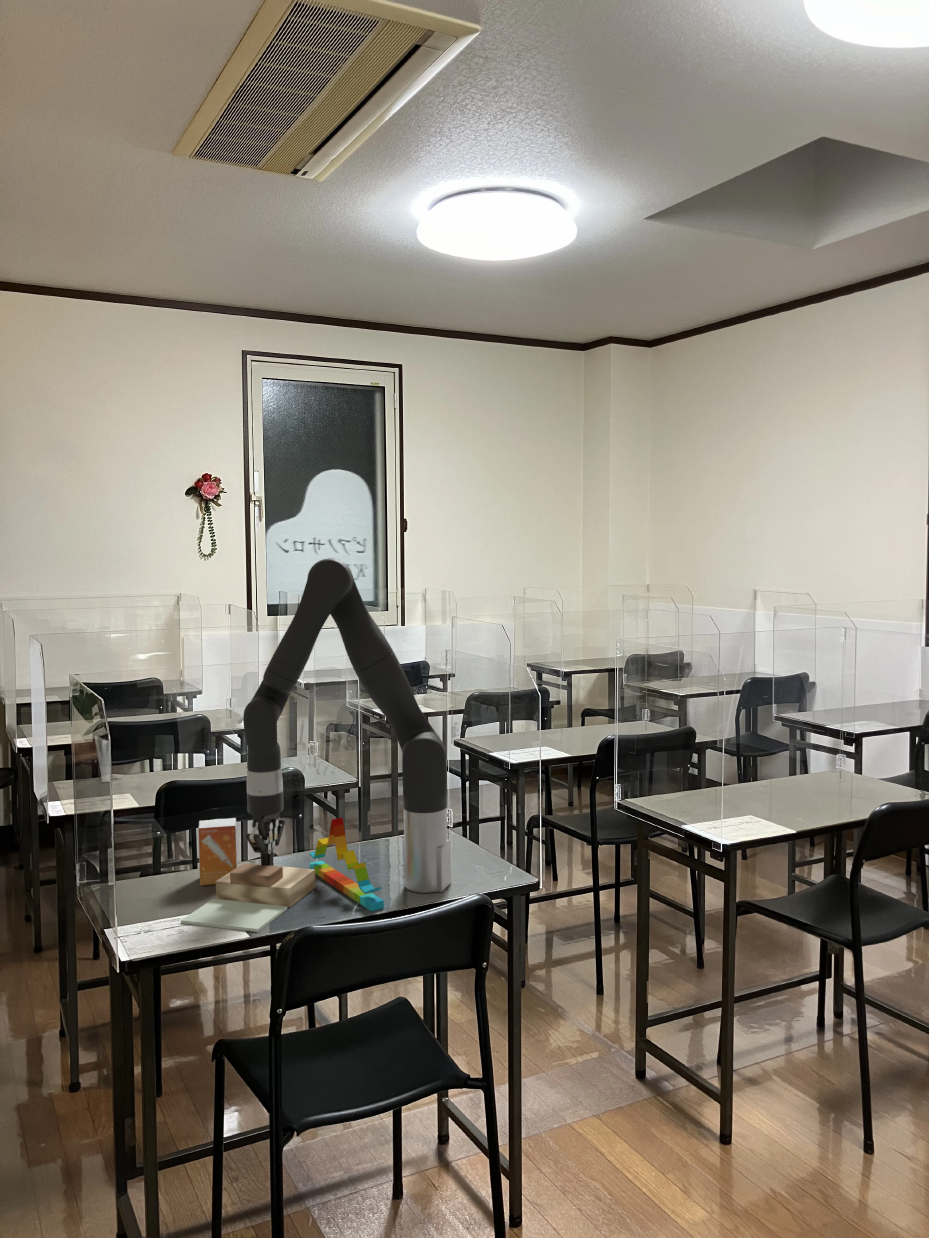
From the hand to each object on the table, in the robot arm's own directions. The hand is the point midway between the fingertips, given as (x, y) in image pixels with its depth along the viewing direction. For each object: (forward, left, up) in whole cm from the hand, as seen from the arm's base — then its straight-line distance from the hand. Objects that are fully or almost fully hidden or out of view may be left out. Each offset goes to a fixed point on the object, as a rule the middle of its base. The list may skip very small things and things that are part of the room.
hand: (267, 869), depth 210 cm
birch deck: (0, +1, -5) cm, 5 cm away
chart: (-15, -6, -5) cm, 17 cm away
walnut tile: (0, +5, 0) cm, 5 cm away
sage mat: (0, +14, -5) cm, 15 cm away
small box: (+14, -4, -5) cm, 16 cm away
